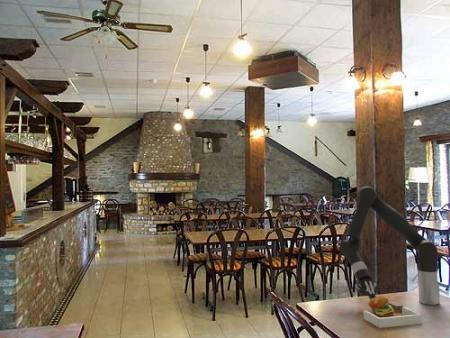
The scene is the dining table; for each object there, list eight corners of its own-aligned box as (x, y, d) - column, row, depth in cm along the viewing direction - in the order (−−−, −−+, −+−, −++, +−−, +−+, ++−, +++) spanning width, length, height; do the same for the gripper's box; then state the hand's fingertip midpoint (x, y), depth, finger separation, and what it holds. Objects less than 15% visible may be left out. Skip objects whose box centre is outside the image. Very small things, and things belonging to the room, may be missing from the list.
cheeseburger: (398, 318, 185) (392, 297, 186) (376, 323, 186) (370, 302, 187) (391, 310, 195) (385, 291, 196) (370, 315, 196) (364, 296, 197)
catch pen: (404, 314, 190) (403, 306, 190) (422, 323, 178) (421, 314, 178) (363, 318, 186) (363, 310, 186) (379, 327, 173) (379, 318, 174)
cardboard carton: (394, 307, 202) (394, 301, 202) (403, 311, 195) (403, 305, 195) (387, 307, 201) (387, 302, 201) (396, 312, 194) (396, 306, 195)
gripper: (352, 269, 205) (365, 299, 192) (374, 267, 208) (389, 297, 195) (347, 276, 210) (360, 306, 197) (369, 275, 213) (383, 304, 200)
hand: (374, 301), depth 196 cm, fingers closed
